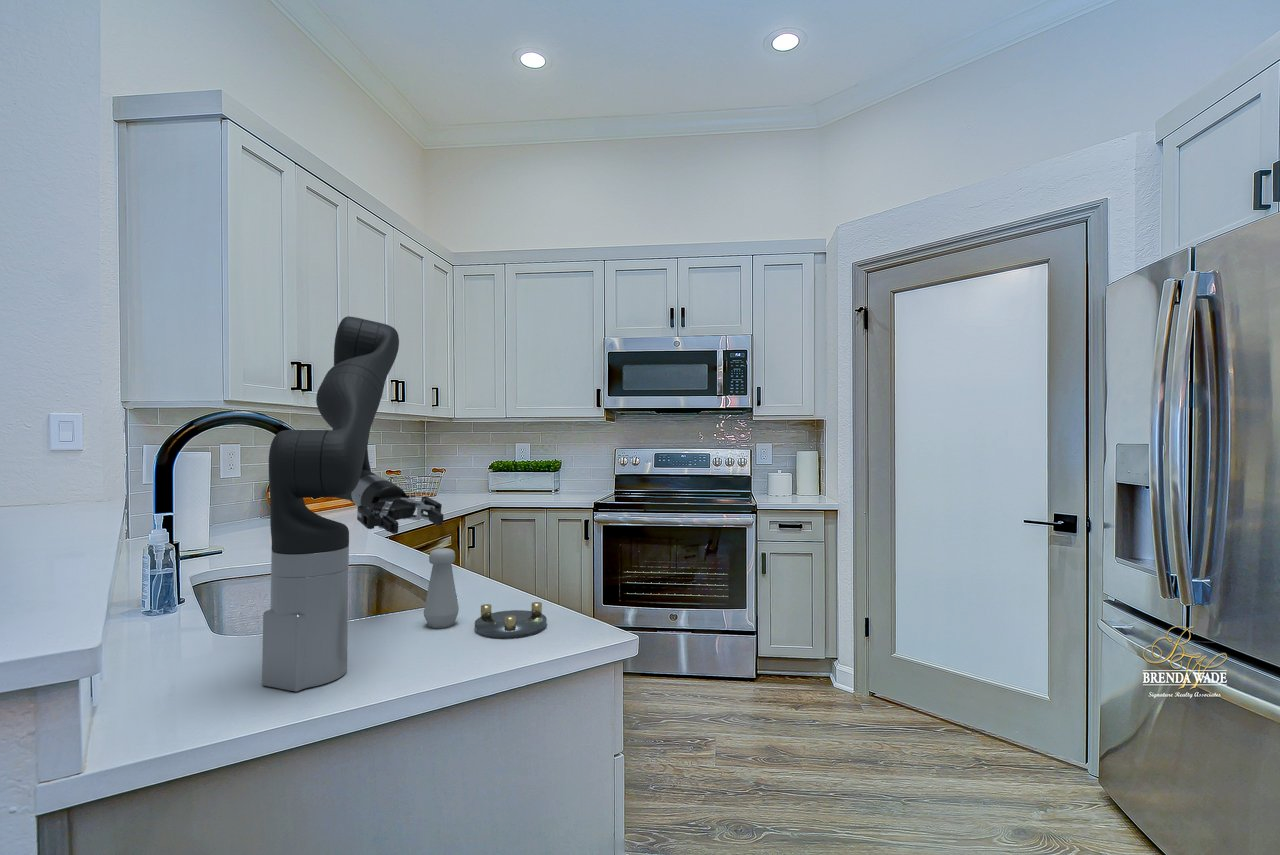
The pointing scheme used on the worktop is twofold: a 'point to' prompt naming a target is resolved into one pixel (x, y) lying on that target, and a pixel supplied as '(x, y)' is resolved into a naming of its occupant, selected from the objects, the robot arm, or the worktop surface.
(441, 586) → the salt shaker
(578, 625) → the worktop surface
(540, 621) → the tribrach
